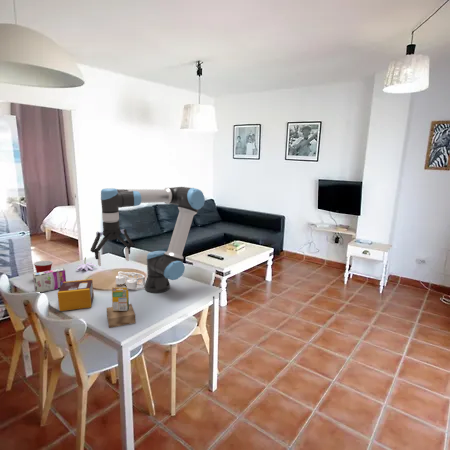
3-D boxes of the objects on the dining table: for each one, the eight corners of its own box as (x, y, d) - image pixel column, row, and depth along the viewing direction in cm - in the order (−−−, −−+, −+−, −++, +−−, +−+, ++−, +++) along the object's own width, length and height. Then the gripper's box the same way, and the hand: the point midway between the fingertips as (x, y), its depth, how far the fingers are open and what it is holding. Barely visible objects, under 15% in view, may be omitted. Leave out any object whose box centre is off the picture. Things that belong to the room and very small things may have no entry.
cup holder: (112, 284, 198) (111, 273, 197) (127, 279, 207) (126, 269, 206) (133, 293, 187) (132, 281, 186) (147, 287, 196) (147, 276, 195)
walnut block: (131, 312, 164) (131, 303, 163) (135, 323, 154) (135, 314, 153) (107, 317, 159) (106, 307, 158) (109, 328, 149) (108, 318, 148)
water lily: (89, 261, 214) (89, 273, 216) (100, 254, 229) (100, 266, 231) (68, 260, 216) (69, 272, 218) (81, 253, 230) (82, 265, 232)
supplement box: (59, 311, 163) (64, 298, 178) (91, 307, 167) (94, 295, 182) (56, 292, 161) (62, 281, 175) (89, 289, 165) (92, 278, 180)
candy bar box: (63, 267, 195) (32, 273, 184) (65, 269, 191) (34, 275, 181) (64, 285, 197) (34, 291, 186) (66, 287, 193) (35, 293, 183)
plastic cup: (57, 279, 205) (56, 261, 202) (40, 284, 196) (38, 266, 194) (49, 275, 211) (47, 258, 208) (32, 280, 202) (30, 262, 200)
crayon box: (129, 308, 157) (128, 285, 157) (127, 310, 154) (127, 287, 154) (114, 309, 157) (113, 286, 156) (112, 311, 154) (111, 287, 153)
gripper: (133, 216, 163) (135, 256, 167) (81, 222, 149) (85, 265, 153) (138, 219, 157) (140, 260, 161) (85, 225, 143) (88, 269, 147)
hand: (113, 262), depth 157 cm, fingers open, 13 cm apart
